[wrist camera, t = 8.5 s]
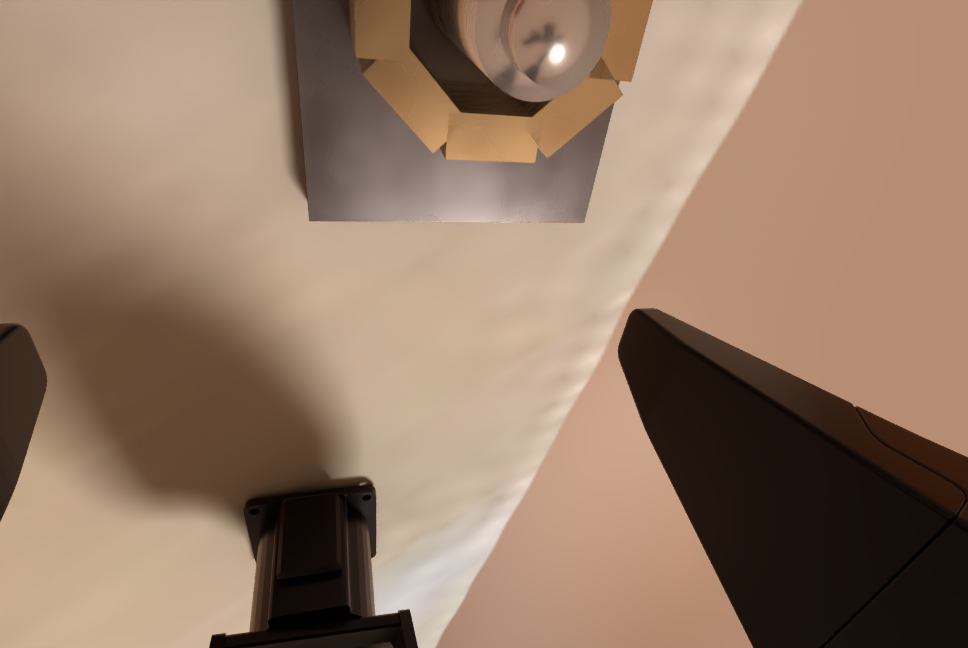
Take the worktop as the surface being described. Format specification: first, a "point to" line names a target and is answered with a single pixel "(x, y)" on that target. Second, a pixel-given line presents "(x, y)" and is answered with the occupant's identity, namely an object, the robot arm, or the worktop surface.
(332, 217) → the shaft stand
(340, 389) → the worktop surface
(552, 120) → the ring
